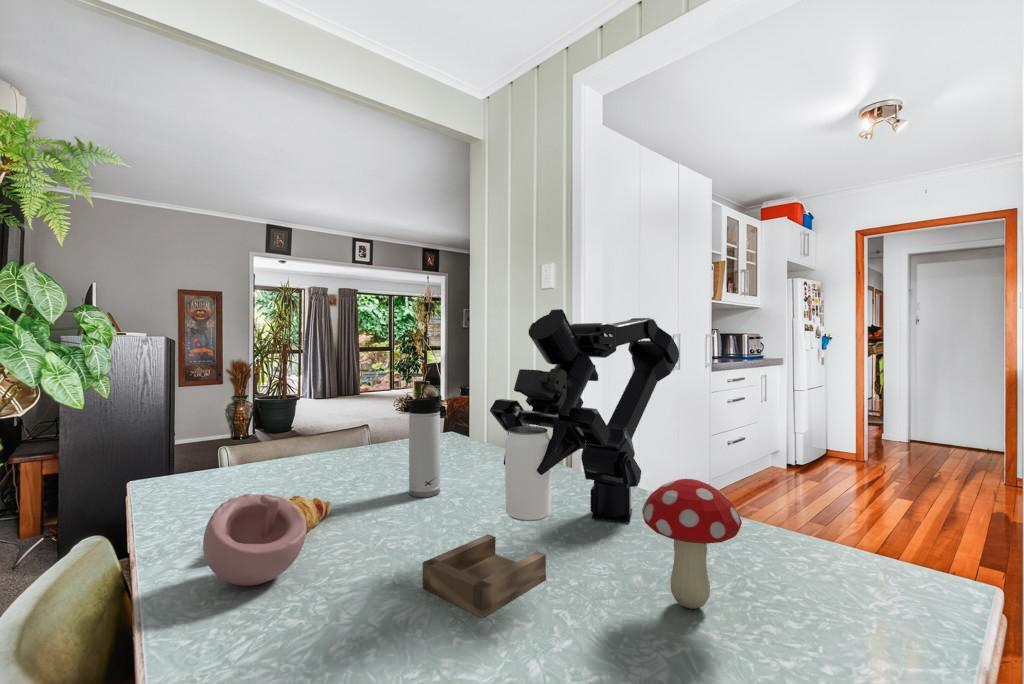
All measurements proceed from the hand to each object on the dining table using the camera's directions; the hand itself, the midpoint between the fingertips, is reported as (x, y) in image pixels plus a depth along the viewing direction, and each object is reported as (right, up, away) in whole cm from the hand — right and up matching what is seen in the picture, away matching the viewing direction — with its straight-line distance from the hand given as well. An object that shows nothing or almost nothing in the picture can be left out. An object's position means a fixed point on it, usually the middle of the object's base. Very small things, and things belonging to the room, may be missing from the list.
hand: (521, 469), depth 70 cm
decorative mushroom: (+20, -14, -11) cm, 26 cm away
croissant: (-39, -14, +10) cm, 42 cm away
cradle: (-5, -13, -6) cm, 15 cm away
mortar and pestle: (-35, -14, -5) cm, 38 cm away
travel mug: (-19, -13, +32) cm, 40 cm away
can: (+1, -7, +1) cm, 7 cm away
